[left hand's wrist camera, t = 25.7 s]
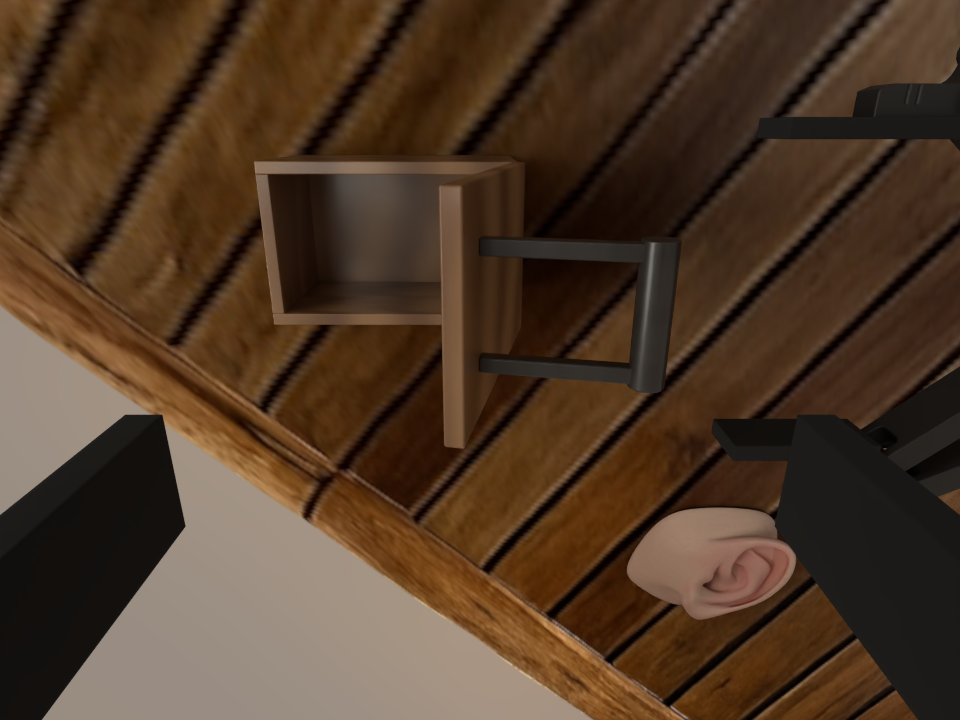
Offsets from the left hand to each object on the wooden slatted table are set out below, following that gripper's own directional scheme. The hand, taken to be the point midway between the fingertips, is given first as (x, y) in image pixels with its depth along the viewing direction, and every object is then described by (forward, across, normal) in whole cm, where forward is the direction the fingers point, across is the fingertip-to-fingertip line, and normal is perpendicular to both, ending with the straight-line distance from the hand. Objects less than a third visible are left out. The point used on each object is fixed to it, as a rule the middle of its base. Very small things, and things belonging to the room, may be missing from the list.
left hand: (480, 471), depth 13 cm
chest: (+35, -6, 0) cm, 36 cm away
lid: (+18, 0, 0) cm, 18 cm away
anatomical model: (+35, +21, -30) cm, 51 cm away
